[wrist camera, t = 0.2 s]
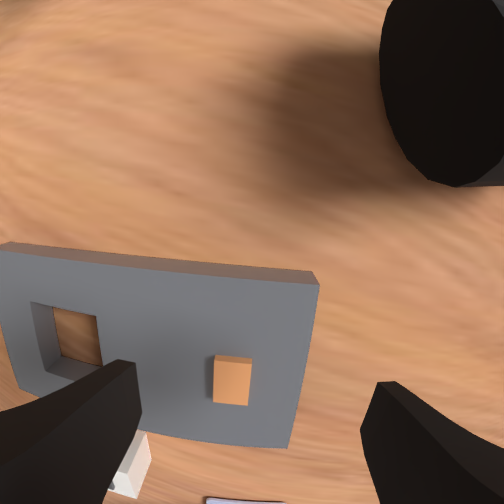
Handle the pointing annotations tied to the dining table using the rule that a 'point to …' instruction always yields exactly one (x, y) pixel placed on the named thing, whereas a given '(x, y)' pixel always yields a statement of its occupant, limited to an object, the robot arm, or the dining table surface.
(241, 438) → the grey square-hole board
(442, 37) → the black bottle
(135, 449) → the block
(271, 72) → the dining table surface
